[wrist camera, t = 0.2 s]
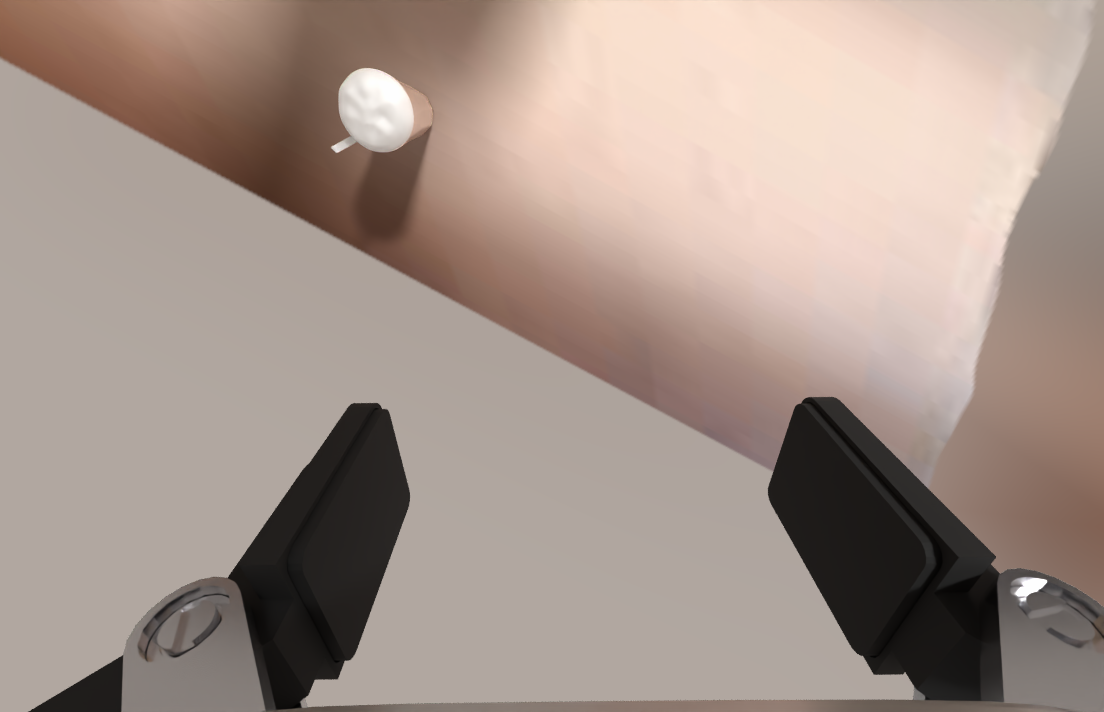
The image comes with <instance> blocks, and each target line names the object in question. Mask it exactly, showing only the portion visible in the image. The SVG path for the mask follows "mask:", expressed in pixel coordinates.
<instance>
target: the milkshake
mask: <svg viewBox="0 0 1104 712" xmlns="http://www.w3.org/2000/svg"><path fill="white" fill-rule="evenodd" d="M338 101H339V114H340V118H341V120H342V123H343V125H344V126H345V128H346V130H347V131H348V132H349V134H350V135H351V136H349V137H348V138H346V139H344V140H342V141H340V142H339V143H337V144H335V145H333V146H331V149H332V150H333V151H334V152H335V153H339V152H340V151H342V150H344V149H346V148H347V147H349V146H351V145H353V144H354V143H356V142H358V143H359V144H361V145H362V146H364V147H365V148H367V149H369V150H372V151H375V152H391V151H394V150H397V149H398V148H400V147H402V146H403V145H404V144H406V143H407V142H409V141H411V140H413V139H415V138H417V137H419V136H421V135H423V134H424V133H425V132H426V131H427V130H428V129H429V127H430V126H431V125H432V118H433V109H432V107H431V105H430V103H429V101H428V99H427V97H426V96H425V95H423V94H422V93H420V92H419V91H417V90H416V89H414V88H413V87H410V86H408V85H406V84H404V83H402V82H400V81H399V80H397V79H395V78H394V77H392V76H390V75H389V74H387V73H385V72H383V71H380V70H377V69H372V68H362V69H358V70H356V71H354V72H352V73H351V74H350V75H349V76H348V77H347V78H346V79H345V81H344V82H343V83H342V85H341V87H340V89H339V95H338Z"/></svg>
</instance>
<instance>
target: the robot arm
mask: <svg viewBox="0 0 1104 712" xmlns="http://www.w3.org/2000/svg"><path fill="white" fill-rule="evenodd" d="M768 496H769V500H770V503H771V505H772V507H773V508H774V510H775V512H776V514H777V515H778V517H779V519H780V521H781V523H782V524H783V526H784V528H785V530H786V531H787V533H788V535H789V537H790V539H791V540H792V542H793V544H794V546H795V548H796V549H797V551H798V553H799V555H800V556H801V558H802V560H803V562H804V563H805V565H806V567H807V569H808V571H809V572H810V574H811V576H812V578H813V580H814V581H815V583H816V585H817V587H818V589H819V590H820V592H821V594H822V596H823V597H824V599H825V601H826V603H827V605H828V606H829V608H830V610H831V612H832V613H833V615H834V617H835V619H836V620H837V622H838V624H839V626H840V628H841V630H842V631H843V633H844V635H845V637H846V639H847V640H848V642H849V644H850V645H851V647H852V648H853V650H854V651H855V652H856V653H857V654H859V655H861V656H863V657H864V658H865V660H866V662H867V663H868V665H869V667H870V669H871V670H872V672H873V674H875V675H878V674H879V675H883V674H884V675H885V674H904V672H906V674H907V676H908V677H909V679H910V680H911V682H912V684H913V685H914V695H913V700H699V701H697V700H696V701H695V700H694V701H585V702H584V701H577V702H576V701H575V702H504V703H503V702H498V703H424V704H386V705H358V706H326V707H307V704H306V700H305V697H306V696H308V695H309V692H310V690H311V687H312V685H313V683H314V680H316V679H338V677H339V675H340V672H341V669H342V667H343V664H344V661H345V660H346V661H347V660H351V658H352V657H353V656H354V655H355V652H356V650H357V648H358V645H359V642H360V639H361V637H362V633H363V631H364V628H365V626H366V623H367V620H368V617H369V614H370V612H371V609H372V606H373V604H374V601H375V598H376V595H377V592H378V590H379V587H380V584H381V581H382V579H383V576H384V573H385V570H386V568H387V565H388V562H389V559H390V557H391V554H392V551H393V548H394V545H395V543H396V540H397V537H398V535H399V532H400V529H401V526H402V523H403V521H404V518H405V515H406V513H407V510H408V507H409V502H410V492H409V487H408V483H407V479H406V476H405V472H404V468H403V464H402V460H401V456H400V453H399V449H398V445H397V441H396V437H395V433H394V429H393V425H392V421H391V417H390V414H389V411H388V410H386V409H382V408H381V406H380V405H379V404H378V403H353V404H351V405H350V406H349V407H348V408H347V410H346V411H345V413H344V414H343V416H342V417H341V419H340V420H339V421H338V423H337V424H336V426H335V427H334V428H333V430H332V431H331V433H330V434H329V436H328V437H327V439H326V440H325V442H324V443H323V445H322V446H321V447H320V449H319V450H318V452H317V453H316V455H315V456H314V457H313V459H312V461H311V462H310V463H309V464H308V465H307V466H306V467H305V468H304V469H303V470H302V472H301V473H300V475H299V476H298V478H297V479H296V480H295V482H294V483H293V485H292V486H291V488H290V489H289V490H288V492H287V493H286V495H285V496H284V498H283V499H282V500H281V502H280V504H279V505H278V506H277V508H276V509H275V511H274V512H273V513H272V515H271V516H270V518H269V519H268V521H267V522H266V523H265V525H264V527H263V528H262V529H261V531H260V532H259V534H258V535H257V536H256V538H255V539H254V541H253V542H252V544H251V545H250V547H249V548H248V549H247V551H246V552H245V554H244V555H243V557H242V558H241V559H240V561H239V562H238V564H237V565H236V567H235V568H234V569H233V571H232V572H231V574H230V575H229V577H228V578H224V577H211V578H206V579H201V580H198V581H195V582H193V583H190V584H188V585H185V586H183V587H181V588H179V589H178V590H176V591H174V592H173V593H171V594H169V595H168V596H166V597H165V598H164V599H162V600H161V601H160V602H159V603H157V604H156V605H155V606H154V607H153V608H151V609H150V610H149V611H148V612H147V613H146V615H145V616H144V617H143V618H142V619H141V620H140V621H139V622H138V624H137V625H136V626H135V628H134V629H133V631H132V633H131V635H130V636H129V638H128V640H127V642H126V647H125V650H124V654H123V656H121V657H119V658H118V659H116V660H114V661H113V662H111V663H110V664H108V665H106V666H104V667H103V668H101V669H99V670H98V671H96V672H94V673H92V674H91V675H89V676H87V677H86V678H84V679H82V680H81V681H79V682H78V683H76V684H74V685H73V686H71V687H69V688H67V689H66V690H64V691H62V692H61V693H59V694H57V695H56V696H54V697H52V698H51V699H49V700H47V701H46V702H44V703H42V704H41V705H39V706H37V707H36V708H34V709H32V710H31V711H29V712H1104V607H1103V606H1101V605H1100V604H1099V603H1098V602H1097V601H1095V600H1093V599H1092V598H1091V597H1089V596H1088V595H1086V594H1084V593H1083V592H1081V591H1080V590H1078V589H1077V588H1075V587H1073V586H1071V585H1069V584H1067V583H1065V582H1063V581H1061V580H1059V579H1057V578H1055V577H1052V576H1049V575H1046V574H1043V573H1040V572H1037V571H1033V570H1027V569H1021V568H1017V569H1007V570H1006V571H1004V572H1003V573H1001V574H1000V573H999V572H998V571H997V570H996V569H995V568H994V567H993V566H992V565H991V563H992V562H993V560H994V559H995V558H996V556H995V555H994V554H993V553H992V552H991V551H990V550H989V549H988V548H987V547H986V546H985V545H984V544H983V543H982V542H981V541H980V540H978V538H977V537H976V536H975V535H974V534H973V533H972V532H971V531H970V530H969V529H968V528H967V527H966V526H965V525H964V524H963V523H962V522H961V521H960V520H959V519H958V518H957V517H956V516H955V515H954V514H953V513H952V512H951V511H950V510H949V509H948V508H947V507H946V506H945V505H944V504H943V503H942V502H941V501H940V500H939V499H938V498H937V497H936V496H935V495H934V494H933V493H932V492H931V491H930V490H929V489H928V488H927V487H926V486H925V485H924V484H923V483H922V482H921V481H920V480H919V479H918V478H917V477H916V476H915V475H914V474H913V473H912V472H911V471H910V470H909V469H908V468H907V467H906V466H905V465H904V464H903V463H902V462H901V461H900V460H899V459H898V458H897V457H896V456H895V455H894V454H893V453H892V452H891V451H890V450H889V449H888V448H887V447H886V446H885V445H884V444H883V443H882V442H881V441H880V440H879V439H878V438H877V437H876V436H875V435H874V434H873V433H872V432H871V431H870V430H869V429H868V428H867V427H866V426H865V425H864V424H863V423H862V422H861V421H860V420H859V419H858V418H857V417H856V416H855V415H854V414H853V413H852V412H851V411H850V410H849V409H848V408H847V407H846V406H845V405H844V404H843V403H842V402H841V401H840V400H838V399H837V398H834V397H808V398H805V399H804V400H803V401H802V403H801V404H798V405H796V406H795V409H794V411H793V414H792V417H791V420H790V423H789V426H788V429H787V432H786V435H785V438H784V441H783V444H782V447H781V450H780V453H779V456H778V459H777V462H776V465H775V469H774V472H773V475H772V478H771V481H770V484H769V487H768Z"/></svg>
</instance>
